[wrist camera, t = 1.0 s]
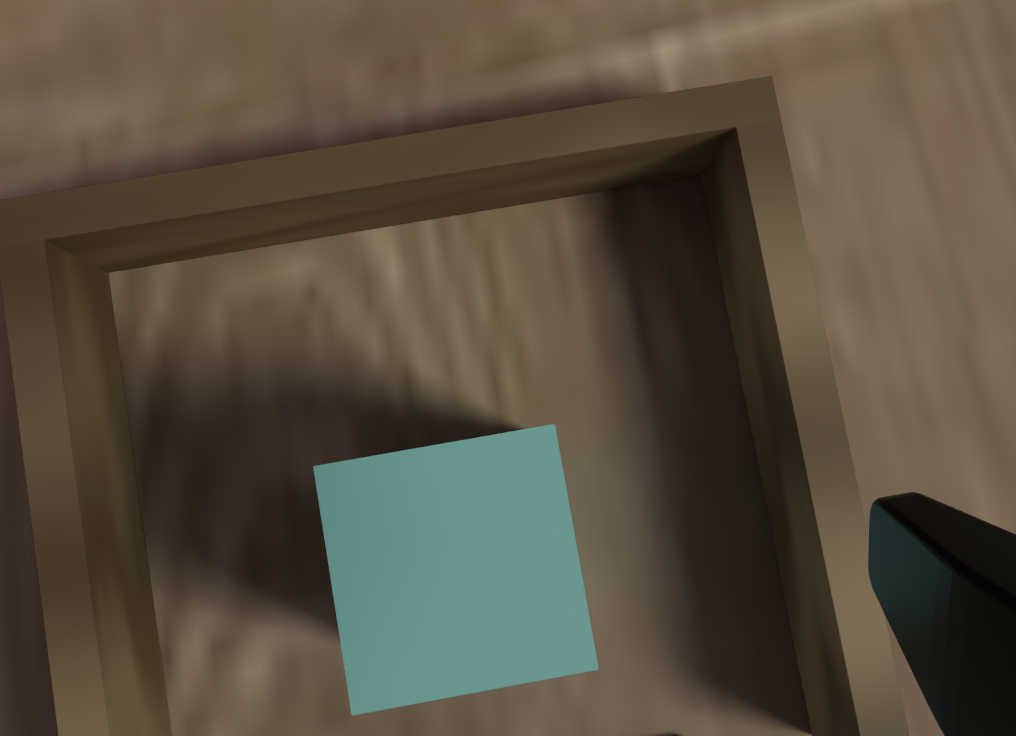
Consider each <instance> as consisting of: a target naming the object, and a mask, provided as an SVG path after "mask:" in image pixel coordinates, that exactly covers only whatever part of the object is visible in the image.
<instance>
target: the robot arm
mask: <svg viewBox="0 0 1016 736" xmlns="http://www.w3.org/2000/svg"><path fill="white" fill-rule="evenodd" d="M868 571H869V578H870V582H871V585H872V588H873V591H874V593H875V595H876V597H877V599H878V601H879V603H880V605H881V608H882V610H883V612H884V614H885V616H886V618H887V620H888V622H889V624H890V626H891V628H892V631H893V633H894V635H895V637H896V639H897V641H898V643H899V645H900V647H901V649H902V651H903V654H904V656H905V658H906V660H907V662H908V664H909V666H910V668H911V670H912V672H913V674H914V677H915V679H916V681H917V683H918V685H919V687H920V689H921V691H922V693H923V695H924V697H925V699H926V702H927V704H928V706H929V708H930V710H931V711H932V713H933V715H934V717H935V719H936V721H937V723H938V725H939V727H940V729H941V730H942V732H943V734H944V735H945V736H1016V534H1013V533H1011V532H1009V531H1006V530H1004V529H1002V528H999V527H997V526H995V525H992V524H990V523H988V522H985V521H983V520H981V519H978V518H976V517H974V516H971V515H969V514H967V513H964V512H962V511H960V510H957V509H955V508H953V507H950V506H948V505H946V504H943V503H941V502H939V501H936V500H934V499H932V498H929V497H927V496H925V495H922V494H919V493H915V492H909V493H903V494H898V495H892V496H887V497H881V498H878V499H877V500H876V501H875V502H874V503H873V504H872V507H871V510H870V526H869V552H868Z"/></svg>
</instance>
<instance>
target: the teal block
mask: <svg viewBox="0 0 1016 736" xmlns="http://www.w3.org/2000/svg"><path fill="white" fill-rule="evenodd" d="M313 469H314V475H315V482H316V488H317V494H318V501H319V507H320V514H321V520H322V527H323V533H324V539H325V546H326V552H327V559H328V565H329V572H330V578H331V584H332V591H333V597H334V604H335V610H336V617H337V623H338V630H339V636H340V642H341V649H342V655H343V662H344V668H345V675H346V681H347V687H348V694H349V700H350V707H351V713H352V715H357V714H363V713H368V712H374V711H379V710H384V709H390V708H395V707H400V706H406V705H411V704H416V703H422V702H427V701H433V700H438V699H443V698H449V697H454V696H459V695H465V694H470V693H475V692H481V691H486V690H492V689H497V688H502V687H508V686H513V685H518V684H524V683H529V682H534V681H540V680H545V679H551V678H556V677H561V676H567V675H572V674H577V673H583V672H588V671H593V670H599V668H598V662H597V656H596V651H595V645H594V640H593V634H592V629H591V623H590V618H589V612H588V606H587V601H586V595H585V590H584V584H583V579H582V573H581V568H580V562H579V556H578V551H577V545H576V540H575V534H574V529H573V523H572V517H571V512H570V506H569V501H568V495H567V490H566V484H565V479H564V473H563V467H562V462H561V456H560V451H559V445H558V440H557V434H556V428H555V424H551V425H546V426H540V427H534V428H529V429H523V430H517V431H511V432H506V433H500V434H494V435H489V436H483V437H477V438H471V439H466V440H460V441H454V442H449V443H443V444H437V445H431V446H426V447H420V448H414V449H409V450H403V451H397V452H391V453H386V454H380V455H374V456H369V457H363V458H357V459H351V460H346V461H340V462H334V463H329V464H323V465H317V466H313Z"/></svg>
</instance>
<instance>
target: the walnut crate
mask: <svg viewBox="0 0 1016 736" xmlns="http://www.w3.org/2000/svg"><path fill="white" fill-rule="evenodd" d="M696 175H700V176H701V181H702V186H703V191H704V196H705V201H706V206H707V211H708V216H709V221H710V226H711V231H712V236H713V241H714V246H715V251H716V256H717V261H718V266H719V271H720V276H721V281H722V286H723V291H724V296H725V301H726V306H727V311H728V316H729V321H730V326H731V331H732V336H733V341H734V346H735V351H736V356H737V361H738V366H739V371H740V376H741V381H742V386H743V391H744V396H745V401H746V406H747V411H748V417H749V422H750V427H751V432H752V437H753V442H754V447H755V452H756V457H757V462H758V467H759V472H760V477H761V482H762V487H763V492H764V497H765V502H766V507H767V512H768V517H769V522H770V527H771V532H772V537H773V542H774V547H775V552H776V557H777V562H778V567H779V572H780V577H781V582H782V587H783V592H784V597H785V602H786V607H787V612H788V617H789V622H790V627H791V632H792V637H793V642H794V647H795V652H796V657H797V662H798V667H799V672H800V677H801V682H802V687H803V692H804V697H805V702H806V707H807V712H808V717H809V722H810V727H811V732H812V736H909V731H908V726H907V722H906V717H905V712H904V707H903V702H902V698H901V693H900V688H899V683H898V678H897V674H896V669H895V664H894V659H893V654H892V650H891V645H890V640H889V635H888V630H887V626H886V621H885V616H884V612H883V610H882V608H881V605H880V603H879V601H878V599H877V597H876V595H875V593H874V591H873V588H872V585H871V582H870V578H869V571H868V552H869V539H868V535H867V530H866V525H865V520H864V515H863V511H862V506H861V501H860V496H859V492H858V487H857V482H856V477H855V472H854V468H853V463H852V458H851V453H850V448H849V444H848V439H847V434H846V429H845V424H844V420H843V415H842V410H841V405H840V400H839V396H838V391H837V386H836V381H835V377H834V372H833V367H832V362H831V357H830V353H829V348H828V343H827V338H826V333H825V329H824V324H823V319H822V314H821V309H820V305H819V300H818V295H817V290H816V286H815V281H814V276H813V271H812V266H811V262H810V257H809V252H808V247H807V242H806V238H805V233H804V228H803V223H802V218H801V214H800V209H799V204H798V199H797V194H796V190H795V185H794V180H793V175H792V171H791V166H790V161H789V156H788V151H787V147H786V142H785V137H784V132H783V127H782V123H781V118H780V113H779V108H778V103H777V99H776V94H775V89H774V84H773V79H772V76H768V77H762V78H756V79H749V80H743V81H737V82H731V83H725V84H718V85H712V86H706V87H700V88H694V89H687V90H681V91H675V92H669V93H663V94H656V95H650V96H644V97H638V98H632V99H625V100H619V101H613V102H607V103H601V104H594V105H588V106H582V107H576V108H570V109H563V110H557V111H551V112H545V113H538V114H532V115H526V116H520V117H514V118H507V119H501V120H495V121H489V122H483V123H476V124H470V125H464V126H458V127H452V128H445V129H439V130H433V131H427V132H421V133H414V134H408V135H402V136H396V137H390V138H383V139H377V140H371V141H365V142H359V143H352V144H346V145H340V146H334V147H328V148H321V149H315V150H309V151H303V152H296V153H290V154H284V155H278V156H272V157H265V158H259V159H253V160H247V161H241V162H234V163H228V164H222V165H216V166H210V167H203V168H197V169H191V170H185V171H179V172H172V173H166V174H160V175H154V176H148V177H141V178H135V179H129V180H123V181H117V182H110V183H104V184H98V185H92V186H86V187H79V188H73V189H67V190H61V191H54V192H48V193H42V194H36V195H30V196H23V197H17V198H11V199H5V200H0V280H1V287H2V295H3V303H4V311H5V319H6V327H7V335H8V343H9V350H10V358H11V366H12V374H13V382H14V390H15V398H16V405H17V413H18V421H19V429H20V437H21V445H22V453H23V461H24V468H25V476H26V484H27V492H28V500H29V508H30V516H31V523H32V531H33V539H34V547H35V555H36V563H37V571H38V579H39V586H40V594H41V602H42V610H43V618H44V626H45V634H46V641H47V649H48V657H49V665H50V673H51V681H52V689H53V697H54V704H55V712H56V720H57V728H58V736H172V733H171V726H170V718H169V711H168V704H167V697H166V689H165V682H164V675H163V668H162V660H161V653H160V646H159V639H158V631H157V624H156V617H155V610H154V602H153V595H152V588H151V581H150V573H149V566H148V559H147V552H146V544H145V537H144V530H143V523H142V515H141V508H140V501H139V494H138V486H137V479H136V472H135V465H134V457H133V450H132V443H131V436H130V429H129V421H128V414H127V407H126V400H125V392H124V385H123V378H122V371H121V363H120V356H119V349H118V342H117V334H116V327H115V320H114V313H113V305H112V298H111V291H110V284H109V276H108V273H109V272H115V271H121V270H127V269H133V268H139V267H145V266H151V265H157V264H163V263H169V262H175V261H181V260H187V259H193V258H200V257H206V256H212V255H218V254H224V253H230V252H236V251H242V250H248V249H254V248H260V247H266V246H272V245H278V244H284V243H290V242H296V241H302V240H309V239H315V238H321V237H327V236H333V235H339V234H345V233H351V232H357V231H363V230H369V229H375V228H381V227H387V226H393V225H399V224H405V223H412V222H418V221H424V220H430V219H436V218H442V217H448V216H454V215H460V214H466V213H472V212H478V211H484V210H490V209H496V208H502V207H508V206H514V205H521V204H527V203H533V202H539V201H545V200H551V199H557V198H563V197H569V196H575V195H581V194H587V193H593V192H599V191H605V190H611V189H617V188H624V187H630V186H636V185H642V184H648V183H654V182H660V181H666V180H672V179H678V178H684V177H690V176H696Z"/></svg>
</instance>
